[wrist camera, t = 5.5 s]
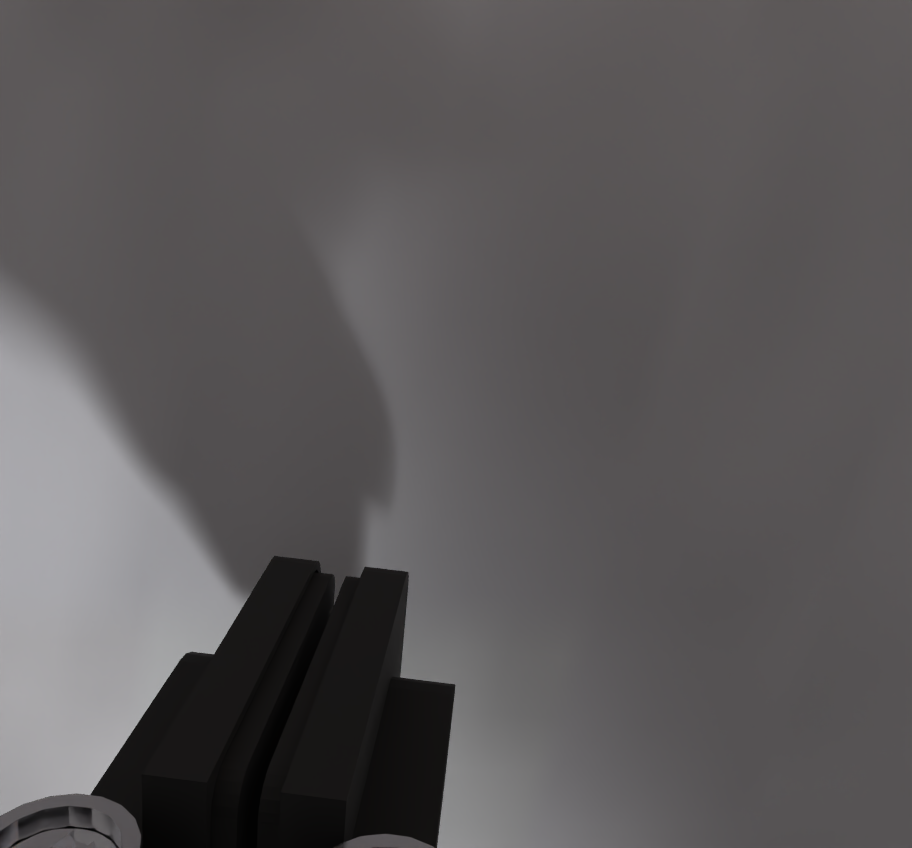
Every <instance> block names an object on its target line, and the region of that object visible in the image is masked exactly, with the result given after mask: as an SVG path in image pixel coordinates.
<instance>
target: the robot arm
mask: <svg viewBox="0 0 912 848" xmlns="http://www.w3.org/2000/svg"><path fill="white" fill-rule="evenodd" d="M408 578H409V575H408V572H404V571H396V570H387V569H379V568H370V567H365V568H364V570H363V572H362V575H361V577H360V578H357V577H349V576H346V578H345V580H344V582H343V585H342V587H341V590H340V592H339V595H338V597H337V600H336V602H335V604H334V591H335V577H334V575H332V574H324V573H321V569H320V563H319V561H312V560H303V559H295V558H287V557H278V556H274V557H273V559H272V560H271V562H270V563H269V565H268V566H267V568H266V570H265V571H264V573H263V575H262V576H261V578H260V580H259V581H258V583H257V585H256V586H255V588H254V590H253V591H252V593H251V594H250V596H249V598H248V599H247V601H246V603H245V604H244V606H243V608H242V609H241V611H240V613H239V614H238V616H237V618H236V619H235V621H234V623H233V624H232V626H231V627H230V629H229V631H228V632H227V634H226V636H225V637H224V639H223V641H222V642H221V644H220V646H219V647H218V649H217V651H216V652H215V654H214V655H213V654H205V653H197V652H190V653H186V654H185V655H184V657H183V658H182V659H181V660H180V661H179V663H178V664H177V666H176V667H175V669H174V670H173V672H172V673H171V675H170V676H169V678H168V679H167V681H166V682H165V684H164V685H163V687H162V688H161V690H160V691H159V693H158V694H157V696H156V697H155V699H154V700H153V702H152V703H151V705H150V706H149V708H148V709H147V711H146V712H145V714H144V715H143V717H142V718H141V720H140V721H139V723H138V724H137V726H136V727H135V729H134V730H133V732H132V733H131V735H130V736H129V738H128V739H127V741H126V742H125V744H124V745H123V747H122V748H121V750H120V751H119V753H118V754H117V756H116V757H115V759H114V760H113V762H112V763H111V765H110V766H109V768H108V769H107V771H106V772H105V774H104V775H103V777H102V778H101V780H100V781H99V783H98V784H97V786H96V787H95V789H94V790H93V792H92V793H91V795H85V794H68V795H57V796H49V797H46V798H43V799H39V800H36V801H32V802H29V803H25V804H23V805H21V806H19V807H17V808H15V809H13V810H11V811H9V812H7V813H5V814H3V815H1V816H0V848H437V842H438V834H439V825H440V817H441V808H442V800H443V791H444V782H445V773H446V765H447V756H448V747H449V738H450V729H451V720H452V711H453V702H454V693H455V684H447V683H439V682H431V681H423V680H414V679H406V678H400V672H401V661H402V649H403V638H404V627H405V616H406V604H407V593H408Z"/></svg>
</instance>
